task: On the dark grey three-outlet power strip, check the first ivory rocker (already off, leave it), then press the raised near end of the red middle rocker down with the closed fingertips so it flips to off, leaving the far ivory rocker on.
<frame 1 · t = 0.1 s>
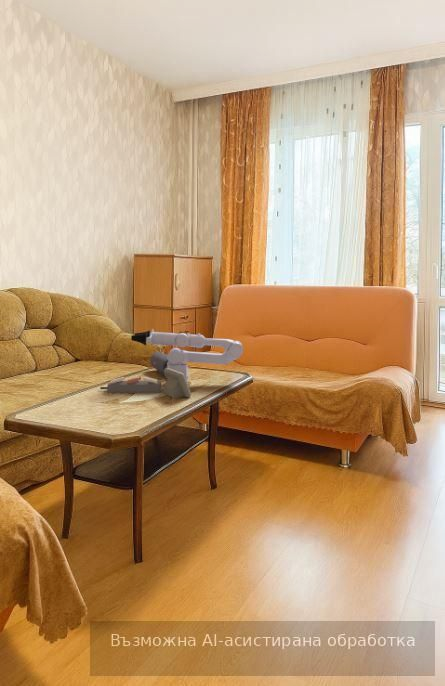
hand: (132, 336, 239), 22 cm above the table, tool horizontal, fingers open, 7 cm apart
bluetooth speaker: (163, 374, 262), on the table
rocker 3: (117, 379, 224), point 5 cm above the table, hinge at 15.0°
rocker 2: (133, 379, 224), point 5 cm above the table, hinge at 15.0°
rocker 1: (150, 379, 224), point 5 cm above the table, hinge at -15.0°
power strip: (135, 390, 226), on the table
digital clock: (177, 395, 218), on the table
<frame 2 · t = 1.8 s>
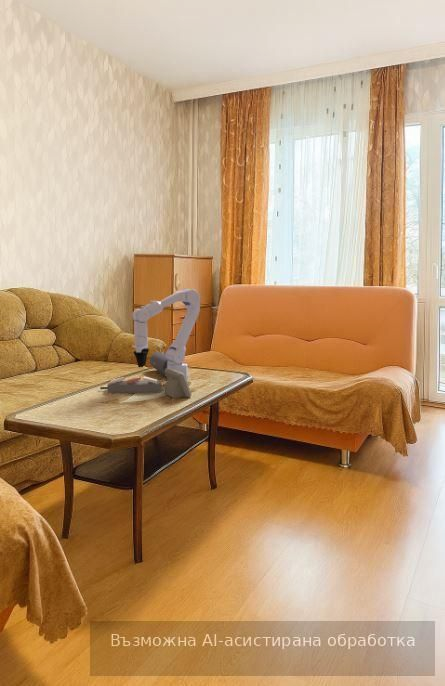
hand: (142, 365, 233), 9 cm above the table, tool pointing down, fingers open, 5 cm apart
nothing on the table moved.
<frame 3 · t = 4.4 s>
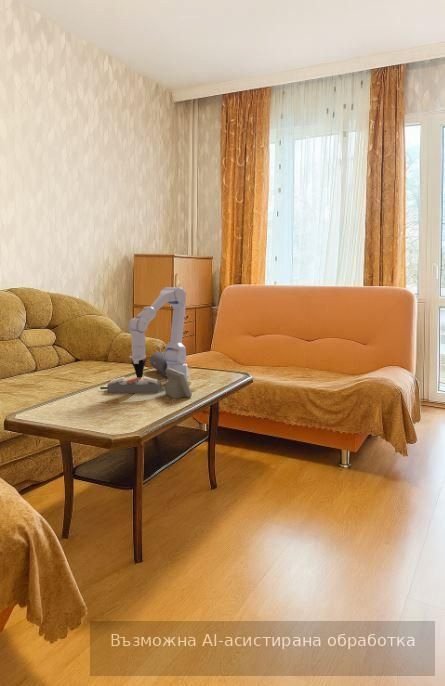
hand: (139, 377, 224), 6 cm above the table, tool pointing down, fingers closed, pressing on rocker 2
rocker 2: (133, 379, 224), point 5 cm above the table, hinge at 15.0°, touching gripper
everything else where it was.
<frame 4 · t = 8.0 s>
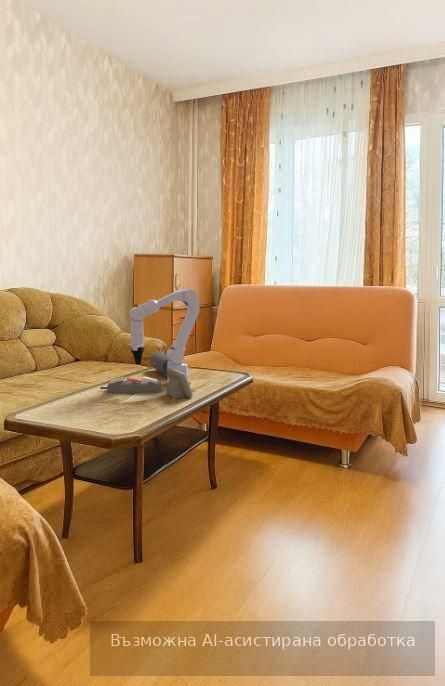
hand: (138, 364, 235), 10 cm above the table, tool pointing down, fingers closed
rocker 2: (134, 379, 224), point 5 cm above the table, hinge at -10.6°
rocker 1: (150, 379, 224), point 5 cm above the table, hinge at -14.4°
everything else where it was.
at the end: rocker 2 at -10° (first picture: +15°); rocker 1 at -14° (first picture: -15°); rocker 3 at +15° (first picture: +15°) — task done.
